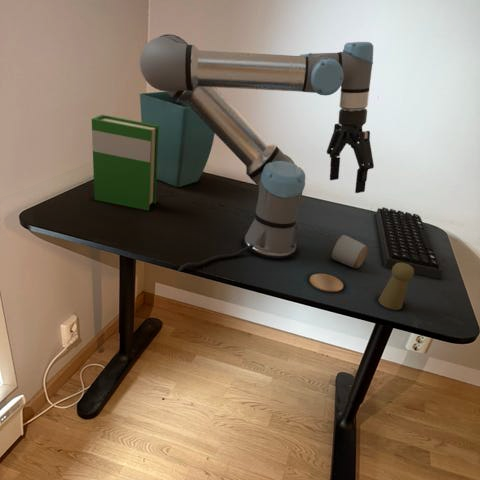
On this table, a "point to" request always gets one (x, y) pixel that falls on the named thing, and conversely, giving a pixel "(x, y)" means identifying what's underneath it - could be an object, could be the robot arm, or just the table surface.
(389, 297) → the pepper shaker
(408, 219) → the computer keyboard
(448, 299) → the table surface
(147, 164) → the hardback book
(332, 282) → the cork coaster
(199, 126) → the flower pot
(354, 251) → the ceramic mug
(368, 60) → the robot arm
